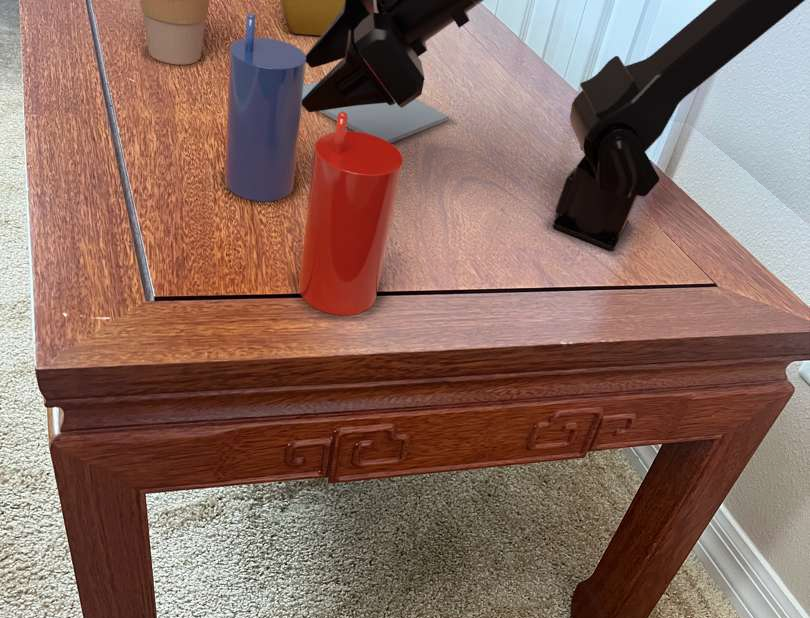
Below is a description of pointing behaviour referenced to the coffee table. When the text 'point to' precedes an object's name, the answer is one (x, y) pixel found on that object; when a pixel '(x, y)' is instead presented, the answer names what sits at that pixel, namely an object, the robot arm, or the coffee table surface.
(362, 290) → the red cylinder
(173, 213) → the coffee table surface
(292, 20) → the flower pot
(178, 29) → the coffee cup
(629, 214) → the robot arm
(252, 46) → the blue cylinder
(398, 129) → the gray mat
